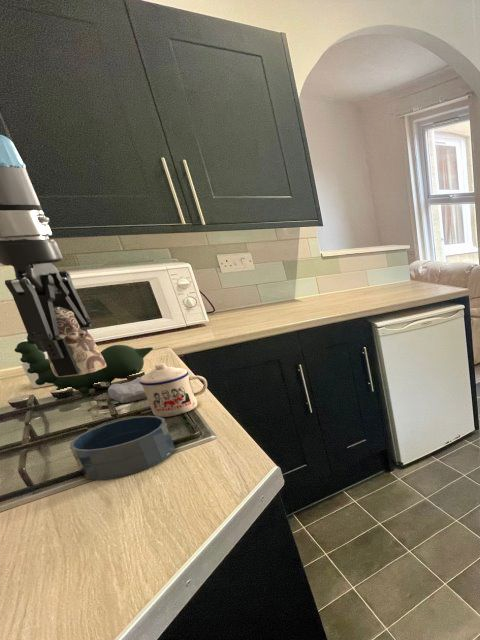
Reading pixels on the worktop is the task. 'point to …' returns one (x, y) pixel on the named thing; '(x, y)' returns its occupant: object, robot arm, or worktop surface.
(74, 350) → the figurine
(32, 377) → the container
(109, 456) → the blue oval tub
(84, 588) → the worktop surface
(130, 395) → the stone block
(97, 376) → the toy figurine
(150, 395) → the teacup with lid
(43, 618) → the worktop surface
